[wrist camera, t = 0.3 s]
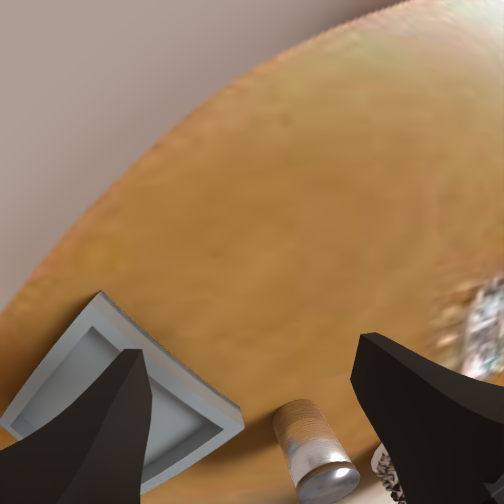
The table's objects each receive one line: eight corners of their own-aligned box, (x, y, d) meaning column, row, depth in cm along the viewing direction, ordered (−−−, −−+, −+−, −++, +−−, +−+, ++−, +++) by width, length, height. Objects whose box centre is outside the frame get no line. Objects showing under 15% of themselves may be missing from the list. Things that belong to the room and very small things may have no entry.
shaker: (292, 442, 23) (322, 511, 15) (260, 422, 22) (285, 498, 14) (329, 413, 23) (370, 478, 15) (300, 390, 22) (340, 461, 14)
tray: (121, 488, 22) (118, 507, 19) (8, 406, 19) (-3, 422, 16) (239, 407, 22) (244, 428, 19) (101, 290, 19) (89, 302, 16)
